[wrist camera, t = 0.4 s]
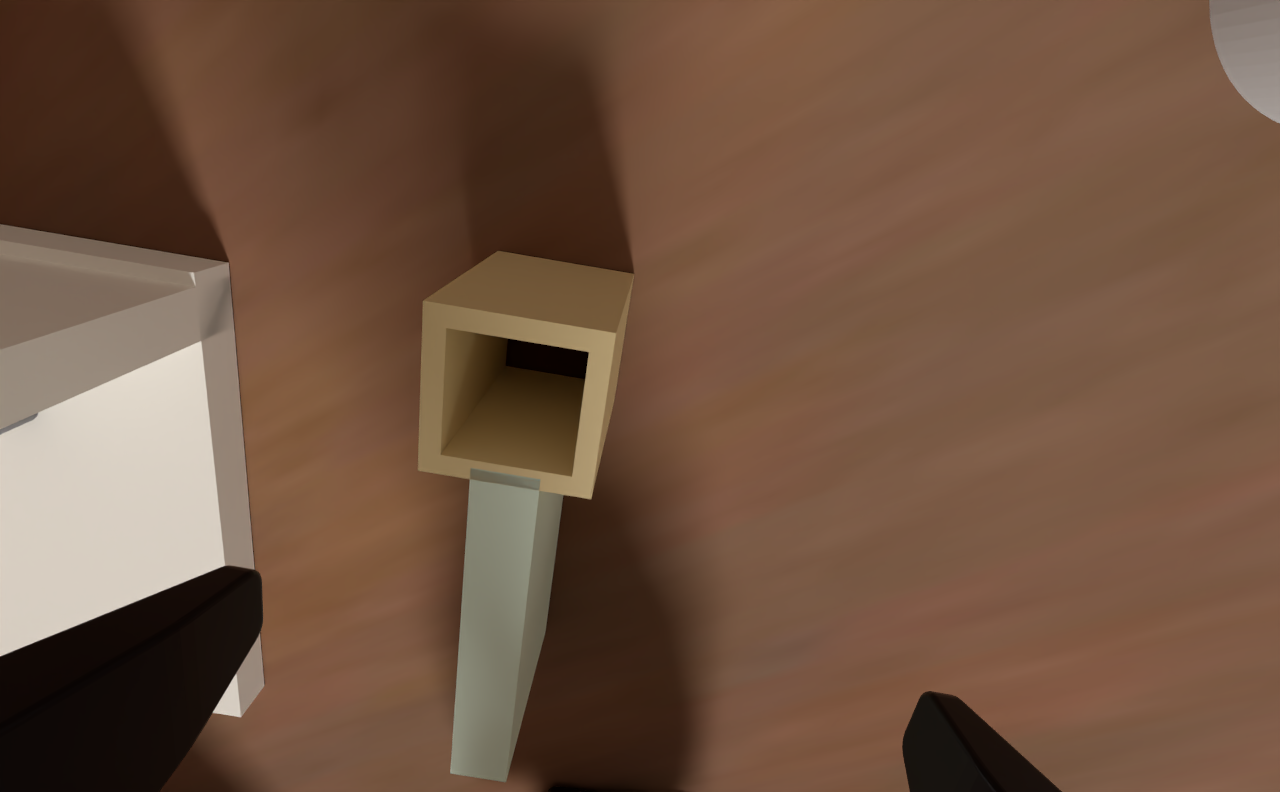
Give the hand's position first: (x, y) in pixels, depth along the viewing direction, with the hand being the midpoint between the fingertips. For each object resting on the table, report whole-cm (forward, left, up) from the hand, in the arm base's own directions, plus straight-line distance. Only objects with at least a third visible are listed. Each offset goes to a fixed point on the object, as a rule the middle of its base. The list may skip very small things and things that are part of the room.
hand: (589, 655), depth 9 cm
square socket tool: (-4, +3, -12) cm, 13 cm away
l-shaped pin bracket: (-8, +19, -12) cm, 23 cm away
